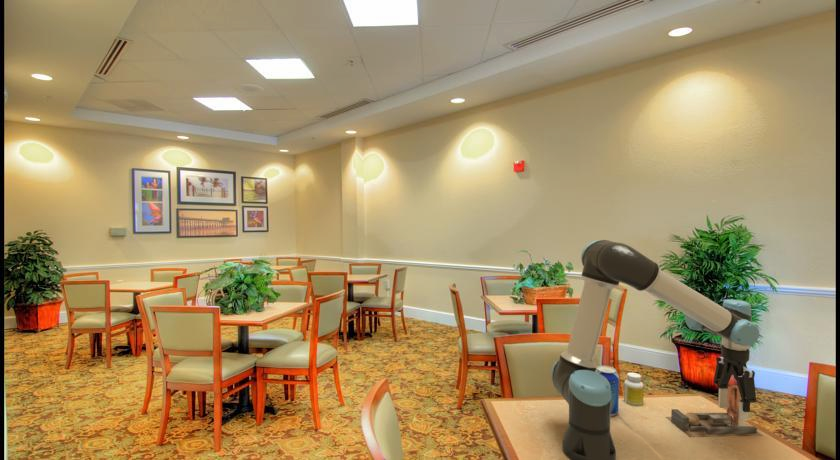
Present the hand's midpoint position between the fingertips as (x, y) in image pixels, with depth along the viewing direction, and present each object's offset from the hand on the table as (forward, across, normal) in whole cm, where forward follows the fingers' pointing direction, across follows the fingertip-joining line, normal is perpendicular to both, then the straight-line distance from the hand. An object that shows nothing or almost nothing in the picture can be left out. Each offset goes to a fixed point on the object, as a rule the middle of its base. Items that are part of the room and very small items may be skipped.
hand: (732, 413), depth 142 cm
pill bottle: (+6, +18, +24) cm, 31 cm away
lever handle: (+4, 0, +2) cm, 5 cm away
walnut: (+4, 0, +14) cm, 15 cm away
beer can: (+6, +13, +37) cm, 40 cm away
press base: (+5, 0, +7) cm, 9 cm away
